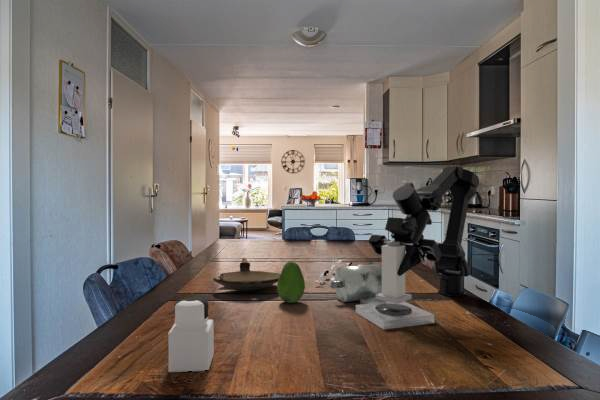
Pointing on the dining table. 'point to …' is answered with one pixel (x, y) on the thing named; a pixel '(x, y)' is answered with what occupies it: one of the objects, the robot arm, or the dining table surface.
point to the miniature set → (330, 272)
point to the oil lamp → (247, 278)
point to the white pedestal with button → (393, 274)
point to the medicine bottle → (191, 336)
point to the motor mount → (365, 287)
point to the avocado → (291, 283)
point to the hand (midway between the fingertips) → (390, 273)
